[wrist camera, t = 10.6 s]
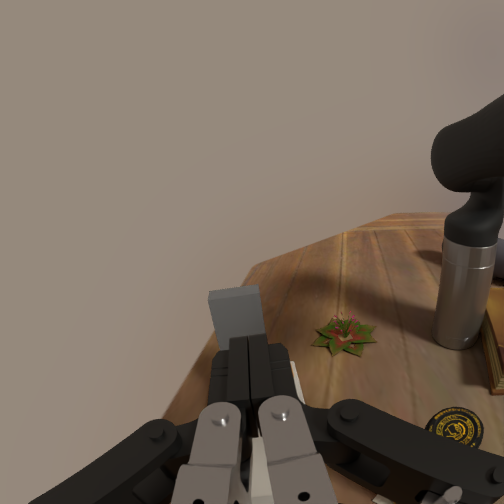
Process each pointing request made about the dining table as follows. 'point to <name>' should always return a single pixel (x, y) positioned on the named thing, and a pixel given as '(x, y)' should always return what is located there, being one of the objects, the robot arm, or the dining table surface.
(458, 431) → the condiment
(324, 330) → the succulent plant
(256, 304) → the switch lever
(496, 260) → the bluetooth speaker
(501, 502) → the dining table surface
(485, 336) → the diary
